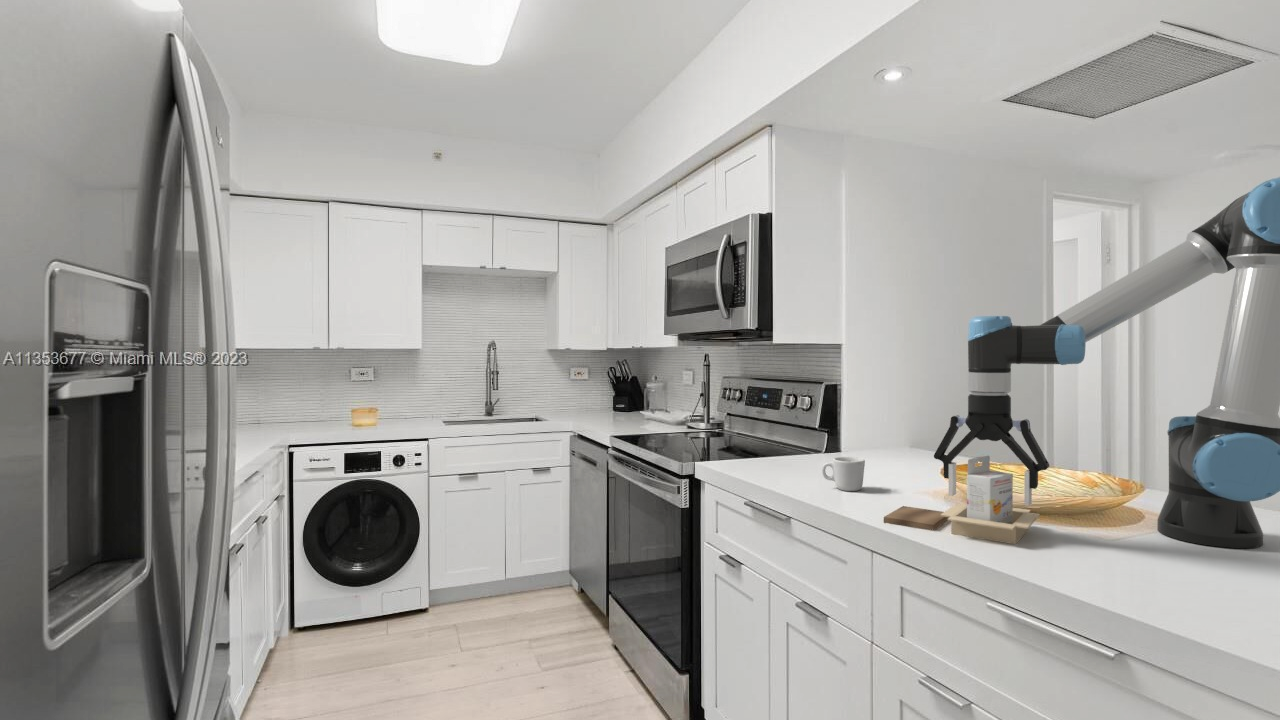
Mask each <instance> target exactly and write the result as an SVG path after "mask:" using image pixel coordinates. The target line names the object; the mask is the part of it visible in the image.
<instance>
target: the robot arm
mask: <svg viewBox="0 0 1280 720" xmlns="http://www.w3.org/2000/svg"><path fill="white" fill-rule="evenodd" d="M1233 269H1235V274H1234V279H1233V285H1232V291H1231V296H1230V299H1229V306H1228V311H1227V316H1226V319H1225V320H1226V321H1225V326H1224V332H1223V338H1222V342H1221V347H1220V352H1219V357H1218V362H1217V367H1216V372H1215V378H1214V382H1213V387H1212V388H1213V389H1212V392H1211V399H1210V402H1209V405H1208V406H1207V407H1205V408H1204V409H1201V410H1200V411H1198V412H1197V413H1196V416H1193V415H1191V416H1185V415H1184V416H1173V418H1171V419H1169V423H1168V430H1167V431H1166V432H1167V436H1168V493H1167V496H1166V498H1165V501H1164V503H1163V506H1162V507H1161V510H1160V512H1159V514H1158V518H1157V525H1156V527H1157V529H1156V530H1157V532H1159V533H1160V534H1161V535H1164V536H1166V537H1169V538H1172V539H1175V540H1180V541H1183V542H1189V543H1193V544H1198V545H1203V546H1204V545H1205V546H1210V547H1221V548H1231V549H1250V548H1251V549H1253V548H1258V547H1259V548H1260V547H1263V544H1264V533H1263V530H1262V527H1261V525H1260V521H1259V519H1258V517H1257V515H1256V513H1255V511H1254V508H1253V506H1252V503H1251V502H1256V501H1257V502H1258V501H1261V500H1262V501H1263V500H1265V499H1268V498H1270V497H1273V496H1274V495H1276V494H1278V493H1279V492H1280V416H1279V410H1280V176H1279V177H1275V178H1271V179H1269V180H1265V181H1263V182H1261V183H1259V184H1258V185H1256V186H1255V187H1254V188H1252V190H1250V191H1249V192H1247V193H1245V194H1242V195H1241V196H1239V197H1238V198H1236V199H1235V200H1233V201H1232V202H1230V204H1228V205H1227V206H1225V208H1223V209H1221V211H1220V212H1218V213H1217V214H1216V215H1214V216H1213V217H1212V218H1211V219H1209V220H1208V221H1206V222H1204V223H1203V224H1202V225H1200V226H1198V227H1197V228H1195V229H1194V230H1192V231H1190V232H1188V233H1187V235H1186V239H1185V241H1184V242H1181V243H1180V244H1179V245H1176V246H1175V247H1173V248H1171V249H1169V250H1168V251H1166V252H1164V253H1162V254H1161V255H1159V256H1157V257H1155V258H1154V259H1152V260H1151V261H1150V260H1149V262H1147V263H1144V265H1142V266H1140V267H1138V268H1137V269H1134V270H1133V271H1132V272H1131V271H1130V273H1127V274H1126V275H1124V276H1122V277H1121V278H1119V279H1117V280H1116V281H1114V282H1112V283H1110V284H1109V285H1107V286H1106V287H1104V288H1102V289H1100V290H1098V291H1097V292H1095V293H1093V294H1092V295H1090V296H1088V297H1086V298H1084V299H1083V300H1081V301H1080V302H1078V303H1076V304H1074V305H1072V306H1070V307H1069V308H1067V309H1065V310H1064V311H1062V312H1060V313H1058V314H1057V315H1056V316H1054V317H1051V318H1050V319H1048V320H1047V321H1044V322H1043V323H1041V324H1039V325H1013V323H1012V318H1011V317H1010V316H1008V315H997V316H996V315H989V316H987V315H986V316H974V317H973V318H971V319H970V320H969V322H968V338H967V359H968V360H967V361H968V362H967V364H968V365H967V366H968V367H967V368H968V372H967V374H968V375H967V376H968V377H967V379H968V380H967V391H968V392H970V393H971V394H968V396H967V417H962V416H960V415H958V414H956V415H952V416H951V417H950V423H949V427H948V429H947V430H946V433H945V434H944V437H943V438H942V440H941V441H940V443H939V445H938V447H937V449H936V451H935V453H934V454H933V457H934V459H935V460H939V461H941V463H943V478H944V479H948V496H949V497H953V496H955V495H956V494H957V462H954V461H953V460H954V459H955V458H957V456H958V455H960V454H961V452H962V451H963V450H965V448H966V447H967V446H968V445H970V443H971V442H973V440H975V439H977V440H980V441H987V440H989V441H991V442H998V441H1002V442H1003V444H1004V445H1006V446H1007V448H1009V449H1010V450H1011V451H1012V453H1013V454H1014V455H1015V456H1016V457H1017V458H1018V460H1019V461H1020V462H1021V463H1022V464H1023V465H1024V466H1025V468H1026V469H1027V470H1025V471H1024V485H1023V486H1024V489H1023V490H1024V494H1023V495H1024V501H1023V502H1024V504H1023V505H1024V507H1030V506H1031V505H1032V504H1033V503H1032V499H1033V495H1032V490H1033V489H1034V490H1036V489H1037V488H1038V486H1039V472H1040V471H1046V470H1047V469H1049V467H1050V462H1048V460H1047V457H1046V456H1045V454H1044V452H1043V450H1042V449H1041V446H1040V445H1039V443H1038V441H1037V439H1036V438H1035V436H1034V434H1033V432H1032V429H1031V423H1030V420H1029V419H1027V418H1025V419H1023V420H1021V419H1020V420H1013V419H1012V398H1011V397H1012V396H1011V395H1008V393H1010V392H1011V391H1012V368H1011V367H1012V365H1013V364H1014V365H1023V364H1024V365H1027V364H1028V365H1061V366H1067V365H1077V364H1081V363H1082V362H1083V361H1084V360H1085V356H1086V344H1087V342H1090V341H1091V340H1093V339H1095V338H1097V337H1098V336H1100V335H1102V334H1104V333H1105V332H1107V331H1110V330H1111V329H1113V328H1115V327H1116V326H1119V325H1120V324H1122V323H1124V322H1126V321H1128V320H1130V319H1131V318H1133V317H1135V316H1137V315H1139V314H1140V313H1143V312H1144V311H1146V310H1148V309H1149V308H1152V307H1153V306H1155V305H1158V304H1159V303H1161V302H1163V301H1164V300H1167V299H1168V298H1169V297H1172V296H1174V295H1176V294H1178V293H1179V292H1181V291H1182V290H1184V289H1186V288H1189V287H1191V286H1192V285H1194V284H1196V283H1198V282H1199V281H1201V280H1203V279H1205V278H1207V277H1209V276H1211V275H1213V274H1222V275H1223V274H1226V273H1227V272H1230V271H1231V270H1233ZM964 424H966V426H967V427H968V429H969V430H970V431H969V432H968V433H966V435H965V436H964V437H963V438H962V439H961V440H960V441H959V442H958V443H957V444H956V445H955V446H954V447H953V448H952V449H951V450H950V451H949V452H948V453H947V454H945V453H946V452H947V450H948V449H949V446H950V444H951V443H952V441H953V439H954V438H955V436H956V434H957V432H958V430H959V429H960V428H962V427H963V426H964ZM1013 427H1015V428H1016V430H1017V431H1018V432H1021V435H1022V437H1023V439H1024V441H1025V442H1026V445H1027V446H1028V448H1029V450H1030V451H1031V454H1032V456H1033V458H1034V459H1035V461H1036V462H1035V461H1034V459H1032V458H1031V456H1030V455H1029V454H1028V453H1027V452H1026V451H1025V450H1024V449H1023V448H1022V446H1021V445H1020V444H1019V443H1018V442H1017V441H1016V440H1015V438H1014V437H1013V436H1012V434H1011V433H1010V431H1011V430H1012V429H1013Z"/></svg>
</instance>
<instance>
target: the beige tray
mask: <svg viewBox="0 0 1280 720" xmlns="http://www.w3.org/2000/svg"><path fill="white" fill-rule="evenodd" d="M943 512H944V513H942V514H941V516H944V517H949V518H948V520H947V521H949V522H951V523H950V524H951V525H950V529H951V530H950V531H951V534H952V535H957V536H964V537H969V538H975V539H980V540H981V539H983V540H988V541H993V542H1001V543H1007V544H1013V545H1016V544H1017V543H1018V542H1019V541H1020V540H1021V539H1022V538H1023V537H1024V535H1025V534H1026V533H1027V532H1028V531H1029V528H1030V527H1031V526H1032V525H1033V524H1034V523H1035V521H1036V520H1037V519H1038V518H1039V517H1040V515H1041V514H1040V513H1035V512H1031V509H1025V508H1019V507H1013V517H1012V518H1013V521H1012V524H1007V523H1000V522H993V521H986V520H979V519H973V518H967V503H961V502H957V503H955V504H954V505H953V506H951V507H950V508H947V510H945V511H943Z"/></svg>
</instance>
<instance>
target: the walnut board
mask: <svg viewBox="0 0 1280 720" xmlns="http://www.w3.org/2000/svg"><path fill="white" fill-rule="evenodd" d="M944 512H945V511H941V510H934V509H927V508H918V507H912V506H904V505H902V506H901V507H899V508H897V509H895V510H893V511H892V512H890V513H887V515H884V516H883V523H884V524H891V525H897V526H902V527H903V526H904V527H910V528H916V529H921V530H928V531H935V530H937V529H938V528H939V527H941V526H942V525H943V524H945V523H946V522H947V521H949V520H948V518H949V517H944V516H941V514H942V513H944Z"/></svg>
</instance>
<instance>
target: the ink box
mask: <svg viewBox="0 0 1280 720" xmlns="http://www.w3.org/2000/svg"><path fill="white" fill-rule="evenodd" d="M990 462H991V457H990V455H983V456H977V457H974V458H968V460H967V472H966V473H967V474H966V504H967V518H973V519H979V520H986V521H993V522H1000V523H1007V524H1012V521H1013V518H1012V517H1013V508H1014V507H1013V503H1014V502H1013V501H1014V497H1013V491H1014V490H1013V489H1014V487H1013V485H1014V482H1013V480H1014V474H1013V473H1012V472H1011V473H1010V472H1003V471H996V470H990V467H991V465H990ZM978 463H981V465H976V464H978Z"/></svg>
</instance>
